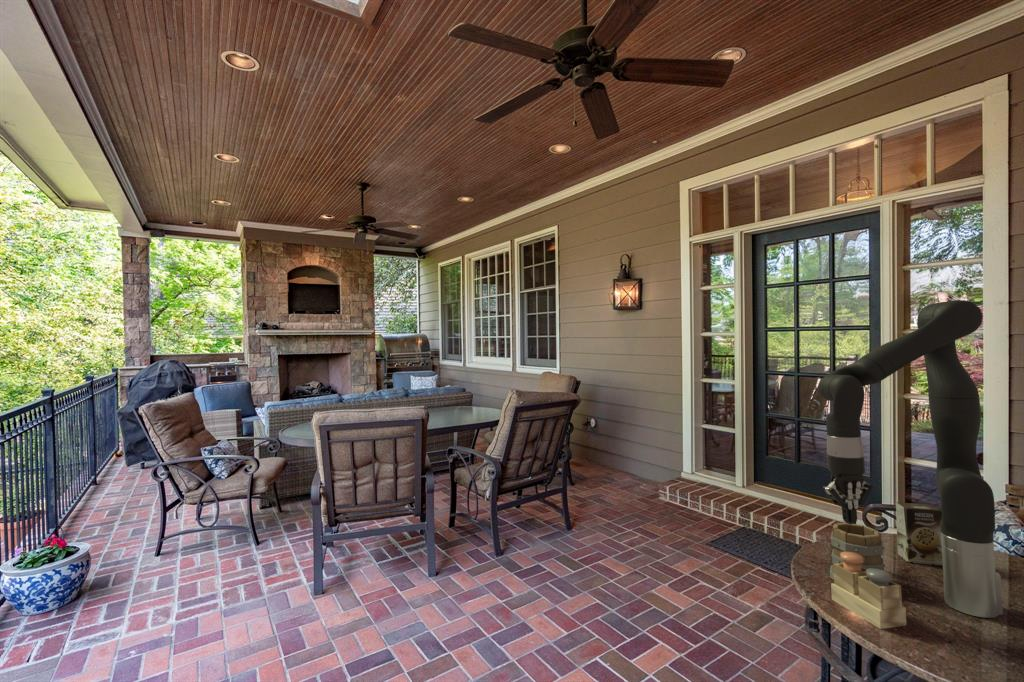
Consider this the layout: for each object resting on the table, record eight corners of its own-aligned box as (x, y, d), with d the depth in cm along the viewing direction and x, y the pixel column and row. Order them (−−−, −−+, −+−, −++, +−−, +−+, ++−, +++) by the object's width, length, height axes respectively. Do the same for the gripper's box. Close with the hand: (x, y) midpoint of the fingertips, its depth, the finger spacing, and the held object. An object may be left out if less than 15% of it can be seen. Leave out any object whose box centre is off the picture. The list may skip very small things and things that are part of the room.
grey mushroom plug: (879, 596, 110) (877, 567, 110) (898, 606, 106) (896, 576, 106) (862, 598, 109) (861, 569, 110) (881, 608, 105) (879, 578, 105)
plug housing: (855, 596, 118) (853, 561, 118) (906, 625, 105) (904, 585, 105) (831, 599, 117) (830, 563, 117) (880, 629, 104) (878, 588, 104)
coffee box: (908, 563, 135) (905, 508, 136) (897, 554, 142) (894, 501, 142) (946, 566, 133) (942, 510, 133) (933, 557, 139) (930, 503, 140)
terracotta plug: (852, 577, 117) (851, 550, 117) (869, 586, 113) (868, 558, 113) (837, 579, 116) (835, 552, 117) (853, 588, 112) (852, 560, 112)
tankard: (889, 597, 117) (886, 538, 118) (829, 583, 125) (826, 528, 125) (885, 567, 133) (882, 515, 134) (832, 557, 141) (830, 507, 141)
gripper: (835, 458, 111) (840, 531, 110) (881, 454, 113) (887, 525, 112) (810, 452, 118) (815, 520, 117) (853, 449, 120) (859, 515, 120)
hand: (850, 522), depth 115 cm, fingers closed
